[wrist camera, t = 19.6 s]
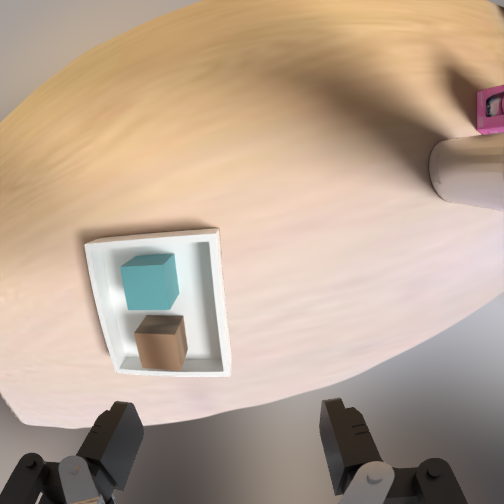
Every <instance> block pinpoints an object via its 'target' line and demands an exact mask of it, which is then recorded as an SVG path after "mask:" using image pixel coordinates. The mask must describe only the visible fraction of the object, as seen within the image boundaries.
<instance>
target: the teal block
mask: <svg viewBox="0 0 504 504" xmlns="http://www.w3.org/2000/svg"><path fill="white" fill-rule="evenodd" d="M120 270H121V276H122V282H123V287H124V293H125V298H126V303H127V307H128V310H170V309H171V307H172V305H173V304H174V302H175V300H176V299H177V297H178V295H179V286H178V279H177V271H176V263H175V254H159V255H142V256H135V257H134V258H132V259H131V260H129V261H128V262H126V263H125V264H123V265H122V266H121V267H120Z"/></svg>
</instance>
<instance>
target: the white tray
mask: <svg viewBox="0 0 504 504" xmlns="http://www.w3.org/2000/svg"><path fill="white" fill-rule="evenodd" d="M84 246H85V252H86V258H87V264H88V269H89V275H90V280H91V285H92V289H93V294H94V298H95V303H96V307H97V311H98V315H99V319H100V323H101V326H102V330H103V333H104V337H105V340H106V344H107V347H108V350H109V353H110V357H111V360H112V363H113V366H114V369H115V371H116V373H121V374H133V375H149V376H173V377H222V376H231V363H232V357H231V348H230V339H229V329H228V320H227V310H226V299H225V289H224V278H223V267H222V255H221V243H220V230H219V228H213V229H199V230H186V231H173V232H160V233H149V234H137V235H126V236H115V237H105V238H98V239H96V240H93V241H91V242H88V243H86V244H84ZM159 254H175V263H176V271H177V279H178V286H179V295H178V297H177V299H176V300H175V302H174V304H173V305H172V307H171V309H170V310H128V307H127V303H126V298H125V293H124V287H123V282H122V276H121V270H120V267H121V266H122V265H123V264H125V263H126V262H128V261H129V260H131V259H132V258H134V257H135V256H142V255H159ZM146 315H166V316H184V324H185V332H186V339H187V346H188V350H187V354H186V357H185V360H184V363H183V366H182V369H181V371H179V370H161V369H147V368H142V365H141V362H140V357H139V353H138V349H137V345H136V340H135V336H134V332H135V331H136V329H137V328H138V327H139V325H140V324H141V322H142V321H143V319H144V318H145V317H146Z"/></svg>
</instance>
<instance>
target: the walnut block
mask: <svg viewBox="0 0 504 504" xmlns="http://www.w3.org/2000/svg"><path fill="white" fill-rule="evenodd" d="M134 336H135V340H136V345H137V349H138V353H139V357H140V362H141V365H142V368H147V369H161V370H179V371H181V369H182V366H183V363H184V360H185V357H186V354H187V350H188V346H187V339H186V332H185V324H184V316H166V315H146V317H145V318H144V319H143V321H142V322H141V324H140V325H139V327H138V328H137V329H136V331H135V332H134Z"/></svg>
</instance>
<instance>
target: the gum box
mask: <svg viewBox="0 0 504 504" xmlns="http://www.w3.org/2000/svg"><path fill="white" fill-rule="evenodd" d="M477 131H479V132H480V133H482V134H483V135H484V134H493V133H501V132H504V85H501V86H496V87H492V88H488V89H485V90H481V91H478V92H477Z"/></svg>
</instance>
